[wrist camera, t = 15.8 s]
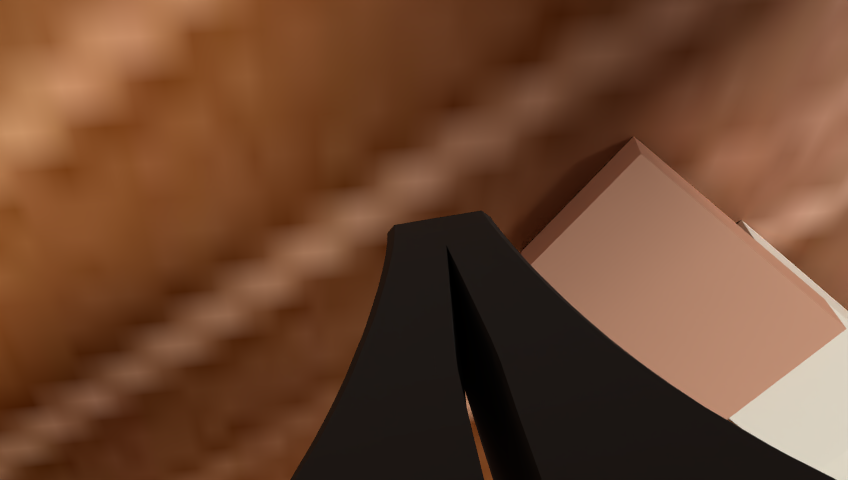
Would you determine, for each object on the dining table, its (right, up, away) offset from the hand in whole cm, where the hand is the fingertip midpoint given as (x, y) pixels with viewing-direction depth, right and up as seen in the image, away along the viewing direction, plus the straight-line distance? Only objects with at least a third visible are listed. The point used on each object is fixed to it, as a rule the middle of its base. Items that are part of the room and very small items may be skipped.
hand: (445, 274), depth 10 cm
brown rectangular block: (+4, +1, +11) cm, 12 cm away
